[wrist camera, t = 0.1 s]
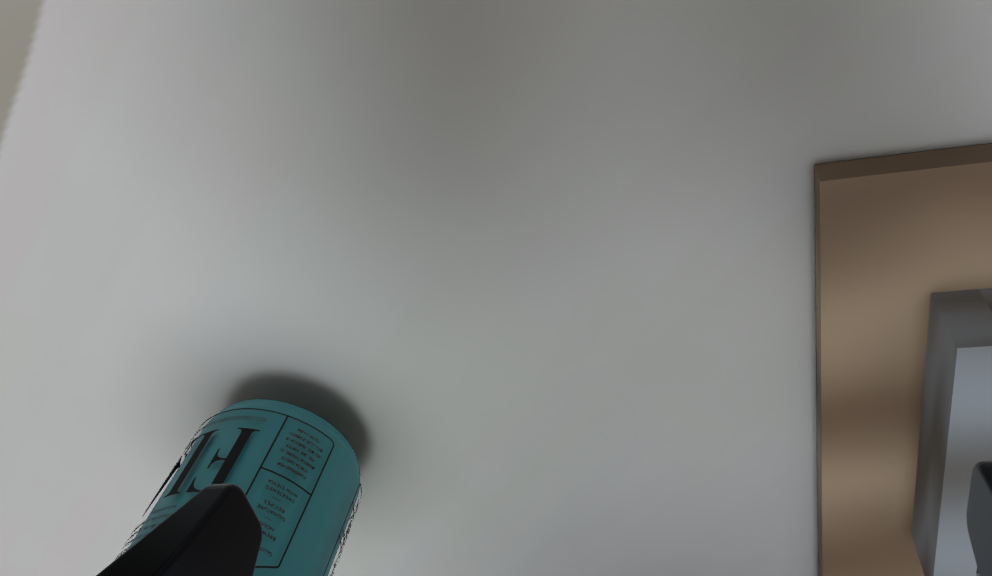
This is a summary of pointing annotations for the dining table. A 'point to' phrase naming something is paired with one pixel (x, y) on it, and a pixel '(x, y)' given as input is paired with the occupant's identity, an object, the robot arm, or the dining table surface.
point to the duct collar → (902, 358)
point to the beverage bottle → (273, 482)
